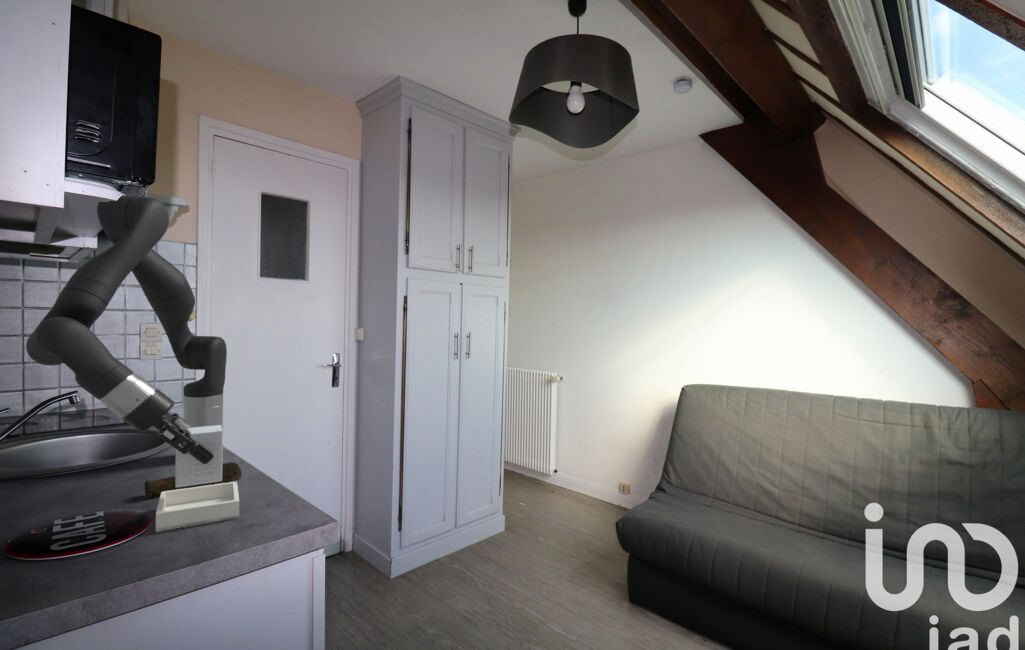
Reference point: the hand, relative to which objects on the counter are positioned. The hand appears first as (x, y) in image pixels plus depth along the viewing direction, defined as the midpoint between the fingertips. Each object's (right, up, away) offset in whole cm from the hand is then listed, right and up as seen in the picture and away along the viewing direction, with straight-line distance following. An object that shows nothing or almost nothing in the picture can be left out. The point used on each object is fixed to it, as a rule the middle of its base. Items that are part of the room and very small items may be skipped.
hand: (209, 455), depth 100 cm
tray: (-2, -12, 0) cm, 12 cm away
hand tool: (-12, -11, +13) cm, 21 cm away
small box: (-2, -5, -1) cm, 5 cm away
